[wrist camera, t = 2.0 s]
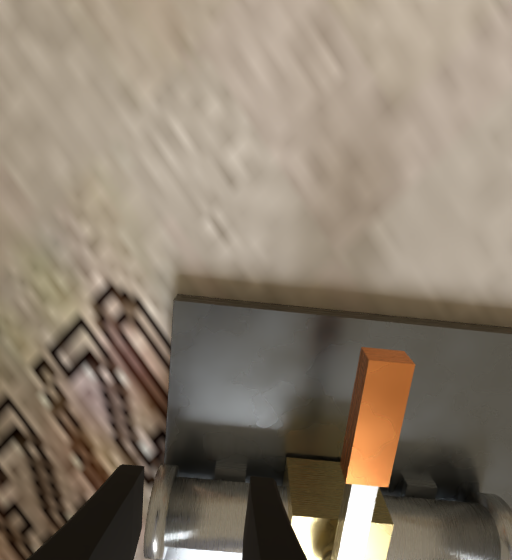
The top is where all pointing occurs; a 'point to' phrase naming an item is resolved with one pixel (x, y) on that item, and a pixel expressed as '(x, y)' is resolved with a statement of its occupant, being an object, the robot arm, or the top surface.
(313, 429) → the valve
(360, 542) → the lever
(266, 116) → the top surface
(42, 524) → the top surface
